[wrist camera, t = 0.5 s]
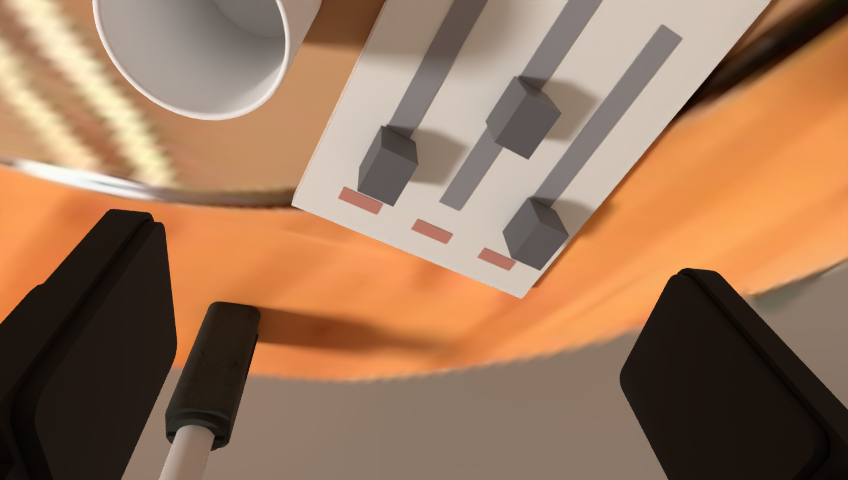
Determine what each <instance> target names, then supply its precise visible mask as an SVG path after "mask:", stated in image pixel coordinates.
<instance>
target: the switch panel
mask: <svg viewBox="0 0 848 480" xmlns="http://www.w3.org/2000/svg"><path fill="white" fill-rule="evenodd" d="M770 1H771V0H385V2H384V4H383V6H382V9H381V11H380V13H379V15H378V17H377V19H376V21H375V23H374V26H373V28H372V30H371V32H370V34H369V36H368V38H367V40H366V43H365V45H364V47H363V49H362V51H361V53H360V55H359V57H358V60H357V62H356V64H355V66H354V68H353V70H352V72H351V74H350V77H349V79H348V81H347V83H346V85H345V87H344V89H343V92H342V94H341V96H340V98H339V100H338V102H337V104H336V106H335V109H334V111H333V113H332V115H331V117H330V119H329V121H328V123H327V126H326V128H325V130H324V132H323V134H322V136H321V138H320V140H319V143H318V145H317V147H316V149H315V151H314V153H313V155H312V158H311V160H310V162H309V164H308V166H307V168H306V170H305V172H304V175H303V177H302V179H301V181H300V183H299V185H298V187H297V189H296V192H295V194H294V197H293V201H292V204H291V205H293V206H295V207H298V208H300V209H303V210H305V211H307V212H310V213H312V214H315V215H317V216H320V217H322V218H325V219H327V220H329V221H332V222H334V223H337V224H339V225H342V226H344V227H347V228H349V229H352V230H354V231H356V232H359V233H361V234H364V235H366V236H369V237H371V238H374V239H376V240H379V241H381V242H383V243H386V244H388V245H391V246H393V247H396V248H398V249H401V250H403V251H406V252H408V253H410V254H413V255H415V256H418V257H420V258H423V259H425V260H428V261H430V262H433V263H435V264H437V265H440V266H442V267H445V268H447V269H450V270H452V271H455V272H457V273H460V274H462V275H464V276H467V277H469V278H472V279H474V280H477V281H479V282H482V283H484V284H487V285H489V286H491V287H494V288H496V289H499V290H501V291H504V292H506V293H509V294H511V295H514V296H516V297H518V298H521V299H522V298H523V297H524V295H525V294H526V293H527V292H528V291H529V289H530V288H531V287H532V286H533V285H534V283H535V282H536V281H537V280H538V279H539V277H540V276H541V275H542V274H543V273H544V271H545V270H546V269H547V268H548V267H549V265H550V264H551V263H552V262H553V261H554V260H555V258H556V257H557V256H558V255H559V254H560V252H561V251H562V250H563V249H564V248H565V246H566V245H567V244H568V243H569V242H570V240H571V239H572V238H573V237H574V236H575V234H576V233H577V232H578V231H579V230H580V228H581V227H582V226H583V225H584V224H585V222H586V221H587V220H588V219H589V218H590V216H591V215H592V214H593V213H594V212H595V211H596V209H597V208H598V207H599V206H600V205H601V203H602V202H603V201H604V200H605V199H606V197H607V196H608V195H609V194H610V193H611V191H612V190H613V189H614V188H615V187H616V185H617V184H618V183H619V182H620V181H621V179H622V178H623V177H624V176H625V175H626V173H627V172H628V171H629V170H630V169H631V167H632V166H633V165H634V164H635V163H636V162H637V160H638V159H639V158H640V157H641V156H642V154H643V153H644V152H645V151H646V150H647V148H648V147H649V146H650V145H651V144H652V142H653V141H654V140H655V139H656V138H657V136H658V135H659V134H660V133H661V132H662V130H663V129H664V128H665V127H666V126H667V124H668V123H669V122H670V121H671V120H672V119H673V117H674V116H675V115H676V114H677V113H678V111H679V110H680V109H681V108H682V107H683V105H684V104H685V103H686V102H687V101H688V99H689V98H690V97H691V96H692V95H693V93H694V92H695V91H696V90H697V89H698V87H699V86H700V85H701V84H702V83H703V81H704V80H705V79H706V78H707V77H708V75H709V74H710V73H711V72H712V71H713V70H714V68H715V67H716V66H717V65H718V64H719V62H720V61H721V60H722V59H723V58H724V56H725V55H726V54H727V53H728V52H729V50H730V49H731V48H732V47H733V46H734V44H735V43H736V42H737V41H738V40H739V38H740V37H741V36H742V35H743V34H744V32H745V31H746V30H747V29H748V28H749V26H750V25H751V24H752V23H753V22H754V21H755V19H756V18H757V17H758V16H759V15H760V13H761V12H762V11H763V10H764V9H765V7H766V6H767V5H768V4H769V3H770ZM514 76H516V77H518V78H519V79H521V80H523V81H525V82H526V83H528V84H530V85H531V86H533V87H535V88H537V89H538V90H540V91H542V92H544V93H545V94H547V95H548V97H549V98H550V99H551V100H552V102H553V103H554V104H555V105H556V107H557V108H558V109H559V111H560V112H561V113H562V114H561V115H560V116H559V118H558V119H557V121H556V122H555V123H554V125H553V126H552V128H551V129H550V130H549V132H548V133H547V135H546V136H545V137H544V139H543V140H542V142H541V143H540V144H539V146H538V147H537V149H536V150H535V151H534V153H533V154H532V156H531V157H530V158H529V160H527V159H526V158H524V157H522V156H520V155H518V154H516V153H514V152H512V151H510V150H508V149H506V148H504V147H502V146H500V145H498V144H497V143H495V142H494V140H493V138H492V136H491V133H490V131H489V129H488V127H487V124H486V122H485V121H486V119H487V118H488V116H489V115H490V113H491V112H492V110H493V108H494V107H495V105H496V104H497V102H498V101H499V99H500V97H501V96H502V94H503V93H504V91H505V90H506V88H507V86H508V85H509V83H510V82H511V80H512V79H513V77H514Z"/></svg>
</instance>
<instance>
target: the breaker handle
mask: <svg viewBox="0 0 848 480" xmlns="http://www.w3.org/2000/svg"><path fill="white" fill-rule="evenodd" d="M561 114H562V113H561V112H560V111H559V109H558V108H557V107H556V105H555V104H554V103H553V102H552V100H551V99H550V98H549V97H548V95H547V94H545V93H544V92H542V91H540V90H538V89H537V88H535V87H533V86H531V85H530V84H528V83H526V82H525V81H523V80H521V79H519V78H518V77H516V76H514V77H513V79H512V80H511V82H510V83H509V85H508V86H507V88H506V90H505V91H504V93H503V94H502V96H501V97H500V99H499V101H498V102H497V104H496V105H495V107H494V108H493V110H492V112H491V113H490V115H489V116H488V118H487V119H486V121H485V122H486V124H487V127H488V129H489V131H490V133H491V136H492V138H493V140H494V142H495V143H497V144H498V145H500V146H502V147H504V148H506V149H508V150H510V151H512V152H514V153H516V154H518V155H520V156H522V157H524V158H526V159H527V160H529V158H530V157H531V156H532V154H533V153H534V151H535V150H536V149H537V147H538V146H539V144H540V143H541V142H542V140H543V139H544V137H545V136H546V135H547V133H548V132H549V130H550V129H551V128H552V126H553V125H554V123H555V122H556V121H557V119H558V118H559V116H560V115H561Z"/></svg>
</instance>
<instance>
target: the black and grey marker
mask: <svg viewBox="0 0 848 480" xmlns="http://www.w3.org/2000/svg"><path fill="white" fill-rule="evenodd" d="M259 320H260V312H259V311H258V310H257V309H256V308H254V307H252V306H247V305H239V304H232V303H225V302H215V303H212V304H211V305H210V306H209V308H208V311H207V313H206V315H205V318H204V320H203V323H202V325H201V328H200V330H199V332H198V335H197V337H196V340H195V342H194V345H193V347H192V349H191V352H190V354H189V357H188V359H187V362H186V364H185V366H184V369H183V371H182V374H181V376H180V379H179V381H178V383H177V386H176V389H175V391H174V393H173V396H172V398H171V401H170V403H169V406H168V408H167V410H166V414H165V420H166V437H167V439H168V440H169V442H170V443H172V447H171V449H170V452H169V455H168V457H167V460H166V463H165V465H164V468H163V471H162V473H161V477H160V479H159V480H202V476H203V473H204V470H205V466H206V463H207V460H208V456H209V453H210V451H213V450H216V449H217V448H222V447H224V446H226V445H227V444H228V443H229V440H230V437H231V433H232V430H233V426H234V422H235V418H236V415H237V411H238V408H239V404H240V400H241V397H242V393H243V390H244V386H245V382H246V379H247V375H248V371H249V368H250V364H251V361H252V357H253V353H254V350H255V346H256V342H257V339H258V335H259V334H257V327H258V323H259Z"/></svg>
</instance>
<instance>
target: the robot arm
mask: <svg viewBox="0 0 848 480" xmlns="http://www.w3.org/2000/svg"><path fill="white" fill-rule="evenodd" d="M176 350H177V335H176V326H175V317H174V307H173V298H172V289H171V280H170V271H169V261H168V252H167V243H166V234H165V228H164V225H163V224H162V223H161V222H154V219H153V217H152V215H151V214H150V213H148V212H139V211H129V210H119V209H110V210H109V211H108V212H106V213H105V215H104V216H103V217H102V218H101V219H100V220H99V221H98V223H97V224H96V225H95V226H94V227H93V228H92V229H91V230H90V232H89V233H88V234H87V235H86V236H85V237H84V238H83V239H82V241H81V242H80V243H79V244H78V245H77V246H76V247H75V248H74V250H73V251H72V252H71V253H70V254H69V255H68V256H67V257H66V259H65V260H64V261H63V262H62V263H61V264H60V265H59V266H58V268H57V269H56V270H55V271H54V272H53V273H52V274H51V275H50V277H49V278H48V279H47V280H46V281H45V282H44V283H43V284H40V285H37V286H36V287H35V288H34V289H32V290H31V291H30V292H29V293H28V294H27V295H26V296H25V297H24V299H23V300H22V301H21V302H20V303H19V304H18V305H17V306H16V307H15V308H14V310H13V311H12V312H11V313H10V314H9V315H8V316H7V317H6V318H5V320H4V321H3V322H2V323H1V324H0V480H121V478H122V476H123V474H124V471H125V469H126V467H127V465H128V462H129V460H130V458H131V456H132V453H133V451H134V449H135V447H136V445H137V442H138V440H139V438H140V435H141V433H142V431H143V429H144V427H145V424H146V422H147V420H148V418H149V415H150V413H151V411H152V409H153V406H154V404H155V402H156V400H157V397H158V395H159V393H160V391H161V389H162V386H163V384H164V382H165V380H166V377H167V375H168V373H169V371H170V368H171V366H172V364H173V361H174V359H175V355H176ZM620 385H621V388H622V390H623V392H624V394H625V396H626V398H627V400H628V402H629V404H630V406H631V408H632V410H633V412H634V413H635V416H636V417H637V419H638V421H639V423H640V425H641V427H642V429H643V431H644V433H645V435H646V437H647V439H648V441H649V443H650V445H651V447H652V449H653V451H654V453H655V455H656V457H657V458H658V460H659V462H660V464H661V466H662V468H663V470H664V472H665V474H666V476H667V478H668V480H848V409H847V408H846V407H845V406H844V405H843V404H842V403H841V402H840V401H839V400H838V399H837V398H836V397H835V396H834V395H833V394H832V392H831V391H830V390H829V389H828V388H826V386H825V385H824V384H823V383H822V382H821V381H820V380H819V379H818V378H817V377H816V376H815V375H814V373H812V371H811V370H810V369H809V368H808V367H807V366H806V365H805V364H804V363H803V362H802V361H801V360H800V359H799V358H798V356H797V355H796V354H795V353H794V352H793V351H792V350H791V349H790V348H789V347H788V346H787V345H786V344H785V343H784V342H783V341H782V340H781V339H780V337H779V336H778V335H777V334H775V332H774V331H773V330H772V329H771V328H770V327H769V326H768V325H767V324H766V323H765V322H764V320H763V319H762V318H761V317H760V316H759V315H758V314H757V313H756V312H755V311H754V310H753V309H752V308H751V307H750V306H749V305H748V303H747V302H746V301H745V300H744V299H743V298H742V297H741V296H740V295H739V294H738V293H737V292H736V291H735V290H734V289H733V288H732V287H731V285H730V284H729V283H728V282H727V281H726V280H725V279H724V278H723V277H722V276H721V275H720V274H719V273H717V272H716V271H711V270H702V269H692V268H685V269H682V270H681V271H679V272H678V273H677V274H676V275H673V276H672V277H671V278H670V279H669V280H668V282H667V284H666V286H665V288H664V290H663V292H662V294H661V295H660V297H659V299H658V301H657V303H656V305H655V307H654V309H653V311H652V313H651V315H650V316H649V318H648V320H647V322H646V324H645V326H644V328H643V330H642V332H641V334H640V335H639V337H638V339H637V341H636V343H635V345H634V347H633V349H632V351H631V353H630V355H629V356H628V358H627V360H626V362H625V364H624V366H623V368H622V370H621V373H620Z"/></svg>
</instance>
